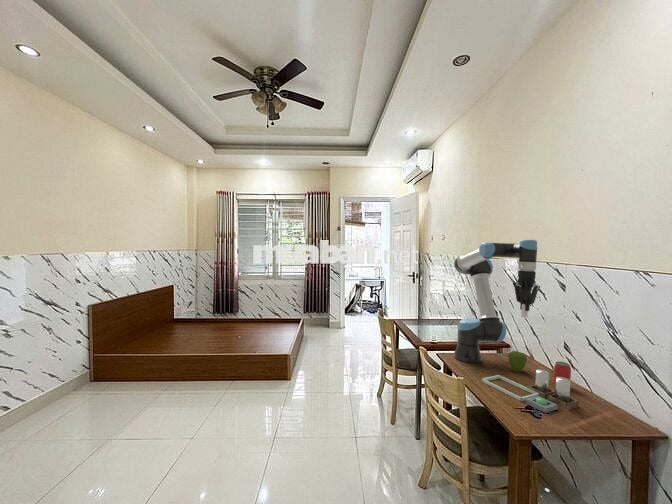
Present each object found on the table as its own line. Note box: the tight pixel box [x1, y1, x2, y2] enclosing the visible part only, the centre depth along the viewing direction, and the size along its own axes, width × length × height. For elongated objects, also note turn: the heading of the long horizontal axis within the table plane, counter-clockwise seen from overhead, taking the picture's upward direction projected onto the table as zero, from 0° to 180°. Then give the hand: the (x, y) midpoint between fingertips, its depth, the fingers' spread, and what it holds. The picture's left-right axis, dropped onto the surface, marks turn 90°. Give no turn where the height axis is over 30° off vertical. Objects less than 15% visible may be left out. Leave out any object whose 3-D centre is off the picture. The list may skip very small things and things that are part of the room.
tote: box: [480, 374, 540, 402], centre depth 145 cm, size 21×13×2 cm, turn 25°
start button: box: [536, 397, 547, 406], centre depth 129 cm, size 4×4×3 cm
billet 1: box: [534, 368, 550, 393], centre depth 141 cm, size 5×5×10 cm
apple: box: [507, 350, 528, 373], centre depth 168 cm, size 9×8×12 cm
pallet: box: [524, 384, 582, 411], centre depth 137 cm, size 18×10×3 cm, turn 25°
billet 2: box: [554, 377, 572, 403], centre depth 133 cm, size 5×5×10 cm
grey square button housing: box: [525, 396, 559, 414], centre depth 129 cm, size 8×8×3 cm
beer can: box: [552, 361, 572, 387], centre depth 150 cm, size 7×7×12 cm
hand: (524, 316), depth 156 cm, fingers closed
